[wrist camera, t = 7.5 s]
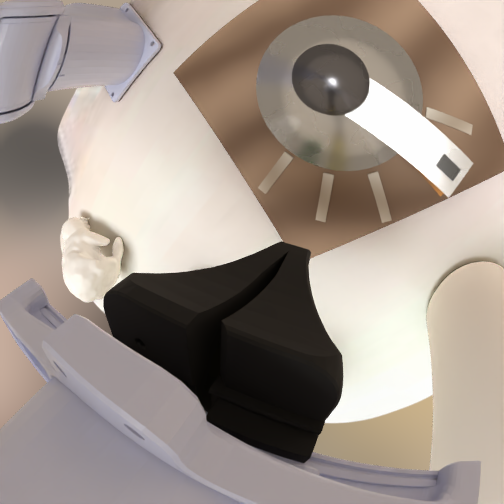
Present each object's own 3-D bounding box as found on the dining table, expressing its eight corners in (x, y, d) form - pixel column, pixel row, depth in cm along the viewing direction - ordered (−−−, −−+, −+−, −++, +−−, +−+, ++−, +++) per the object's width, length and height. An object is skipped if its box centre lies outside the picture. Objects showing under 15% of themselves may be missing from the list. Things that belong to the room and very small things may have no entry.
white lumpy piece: (82, 317, 26) (39, 253, 28) (131, 285, 33) (86, 232, 35) (79, 285, 23) (36, 217, 25) (138, 253, 30) (88, 198, 32)
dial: (237, 117, 17) (201, 118, 13) (304, 0, 11) (283, -30, 7) (399, 228, 16) (407, 258, 12) (481, 112, 10) (512, 110, 6)
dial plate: (184, 74, 18) (171, 72, 17) (362, -42, 8) (360, -53, 7) (301, 255, 22) (296, 265, 20) (502, 163, 11) (512, 167, 10)
